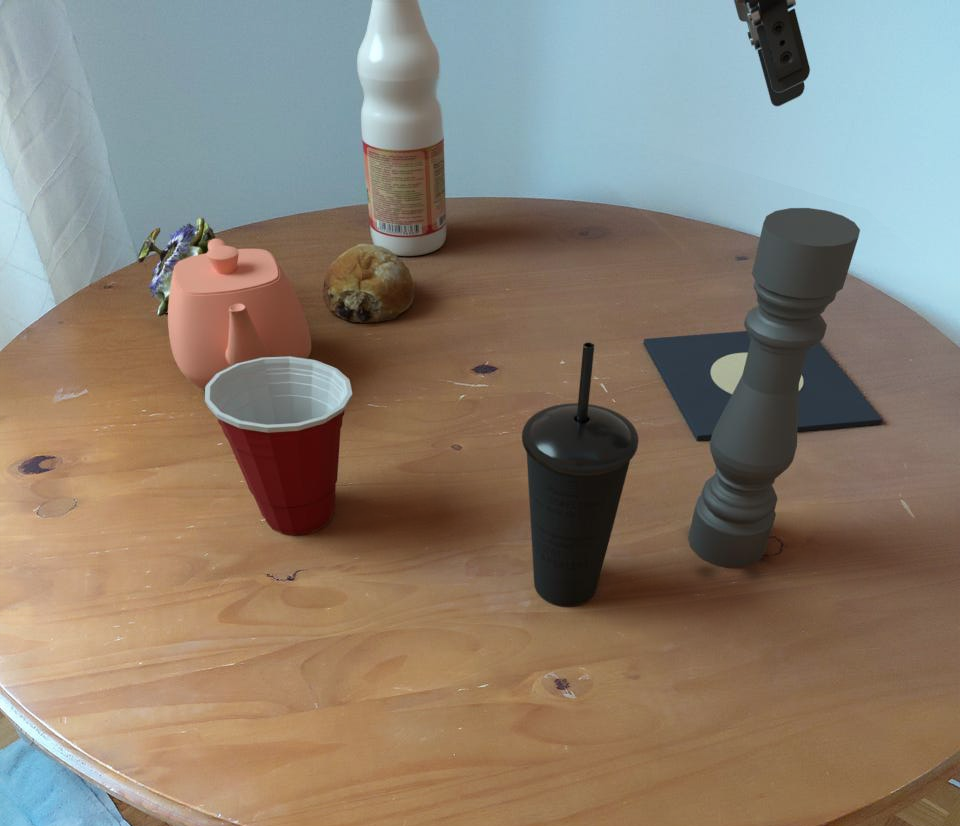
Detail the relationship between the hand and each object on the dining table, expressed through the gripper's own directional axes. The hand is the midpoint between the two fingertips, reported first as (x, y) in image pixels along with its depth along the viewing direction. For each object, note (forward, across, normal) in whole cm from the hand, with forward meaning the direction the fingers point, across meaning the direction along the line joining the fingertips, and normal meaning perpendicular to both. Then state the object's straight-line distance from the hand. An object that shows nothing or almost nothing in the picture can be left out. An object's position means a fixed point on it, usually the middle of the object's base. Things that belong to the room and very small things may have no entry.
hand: (791, 94), depth 57 cm
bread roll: (-2, +29, +45) cm, 54 cm away
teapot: (+1, +13, +53) cm, 55 cm away
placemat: (+21, +26, +8) cm, 34 cm away
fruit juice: (-7, +45, +44) cm, 63 cm away
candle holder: (+28, +2, +13) cm, 31 cm away
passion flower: (-8, +23, +61) cm, 65 cm away
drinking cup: (+25, -7, +24) cm, 36 cm away
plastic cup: (+13, -5, +44) cm, 46 cm away
